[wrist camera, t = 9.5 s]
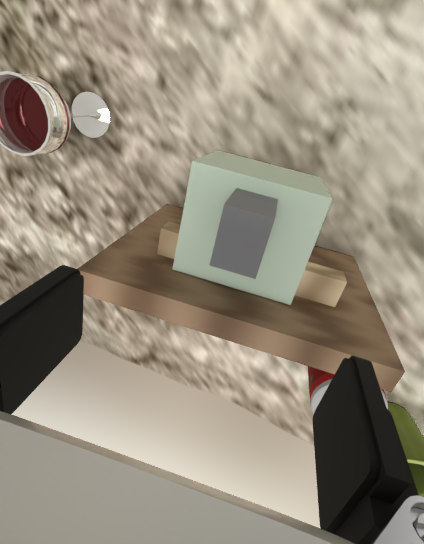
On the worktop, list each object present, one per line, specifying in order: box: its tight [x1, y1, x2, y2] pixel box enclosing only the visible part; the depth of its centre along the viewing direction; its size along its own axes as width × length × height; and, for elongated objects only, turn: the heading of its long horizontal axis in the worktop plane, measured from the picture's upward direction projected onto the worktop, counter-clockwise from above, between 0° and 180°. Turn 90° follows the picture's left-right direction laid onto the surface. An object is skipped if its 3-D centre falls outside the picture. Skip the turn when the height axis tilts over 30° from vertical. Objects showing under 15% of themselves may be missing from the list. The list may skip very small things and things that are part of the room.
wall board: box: [78, 204, 405, 392], centre depth 33 cm, size 24×10×20 cm, turn 77°
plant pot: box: [387, 402, 424, 497], centre depth 44 cm, size 12×12×11 cm
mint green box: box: [173, 150, 333, 305], centre depth 26 cm, size 10×9×14 cm
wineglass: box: [0, 71, 110, 156], centre depth 34 cm, size 7×7×12 cm
